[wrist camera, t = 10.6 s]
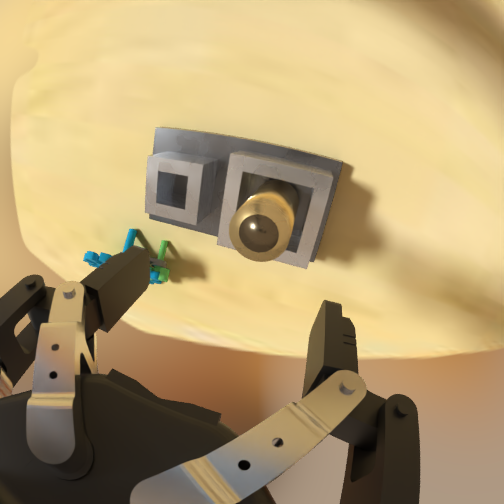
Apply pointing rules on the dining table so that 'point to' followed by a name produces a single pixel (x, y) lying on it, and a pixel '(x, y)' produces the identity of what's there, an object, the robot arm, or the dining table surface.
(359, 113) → the dining table surface
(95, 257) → the gear
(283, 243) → the cylinder
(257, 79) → the dining table surface
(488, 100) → the dining table surface
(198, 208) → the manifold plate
